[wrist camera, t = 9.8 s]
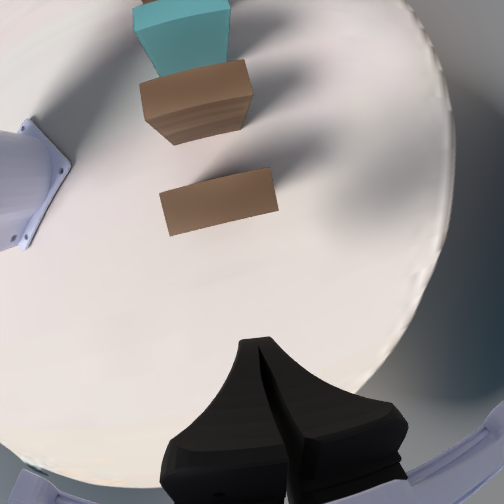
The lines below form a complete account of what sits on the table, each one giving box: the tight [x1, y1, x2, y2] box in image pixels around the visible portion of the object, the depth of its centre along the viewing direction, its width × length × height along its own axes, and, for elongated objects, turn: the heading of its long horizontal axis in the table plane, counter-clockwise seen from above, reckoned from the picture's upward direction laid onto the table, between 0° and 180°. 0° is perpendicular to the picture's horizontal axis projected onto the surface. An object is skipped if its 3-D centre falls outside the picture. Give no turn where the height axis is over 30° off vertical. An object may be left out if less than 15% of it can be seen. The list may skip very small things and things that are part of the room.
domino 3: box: [159, 167, 279, 236], centre depth 16 cm, size 2×5×8 cm, turn 102°
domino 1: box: [133, 0, 231, 77], centre depth 13 cm, size 2×5×8 cm, turn 102°
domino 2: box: [139, 59, 253, 145], centre depth 14 cm, size 2×5×8 cm, turn 102°
